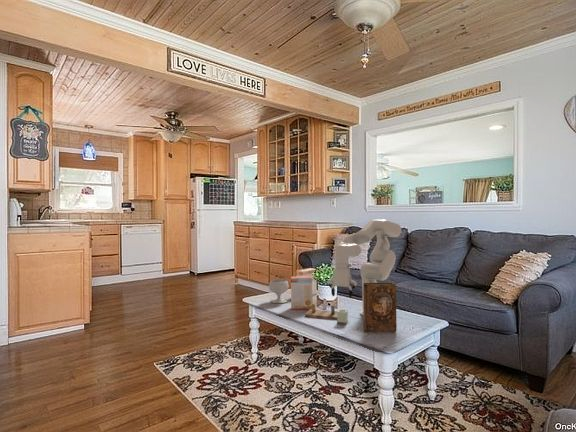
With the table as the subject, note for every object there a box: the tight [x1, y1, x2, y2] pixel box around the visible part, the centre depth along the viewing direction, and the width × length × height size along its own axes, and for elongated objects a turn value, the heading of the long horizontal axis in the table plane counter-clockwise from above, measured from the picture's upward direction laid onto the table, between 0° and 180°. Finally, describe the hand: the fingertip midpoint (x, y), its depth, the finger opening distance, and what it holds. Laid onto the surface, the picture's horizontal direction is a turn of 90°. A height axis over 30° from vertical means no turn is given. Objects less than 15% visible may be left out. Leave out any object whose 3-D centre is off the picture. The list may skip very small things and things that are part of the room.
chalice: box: [268, 278, 290, 304], centre depth 249 cm, size 14×14×15 cm
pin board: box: [304, 303, 338, 321], centre depth 214 cm, size 20×12×6 cm, turn 70°
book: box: [363, 282, 398, 334], centre depth 185 cm, size 16×6×25 cm, turn 92°
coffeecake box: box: [295, 267, 318, 296], centre depth 268 cm, size 15×7×20 cm, turn 130°
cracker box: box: [290, 275, 314, 311], centre depth 230 cm, size 14×6×21 cm, turn 84°
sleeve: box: [336, 308, 349, 326], centre depth 199 cm, size 5×5×7 cm
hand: (341, 296), depth 199 cm, fingers open, 9 cm apart
